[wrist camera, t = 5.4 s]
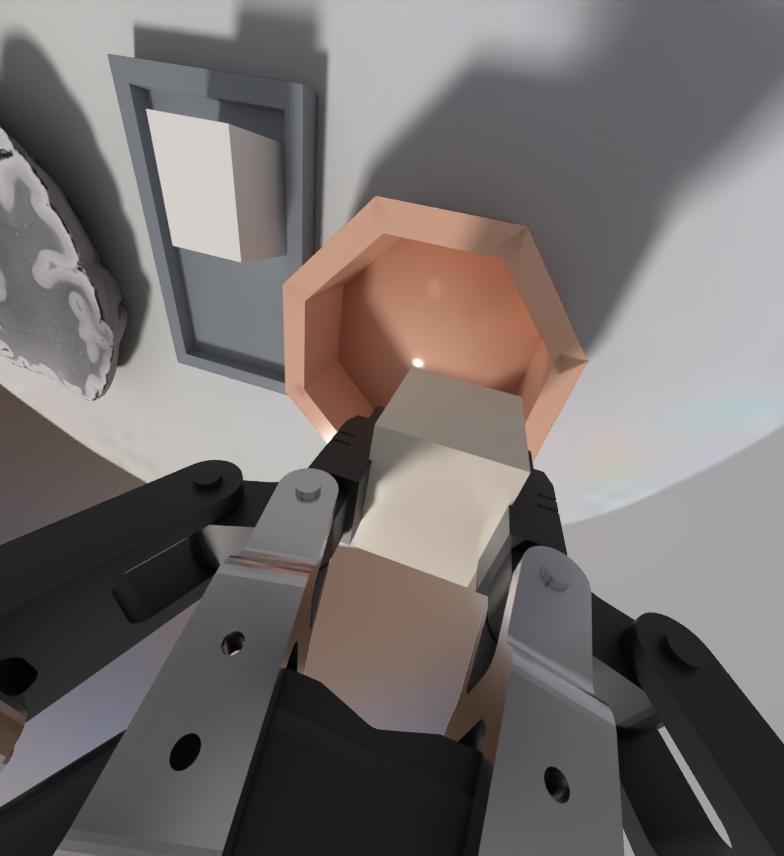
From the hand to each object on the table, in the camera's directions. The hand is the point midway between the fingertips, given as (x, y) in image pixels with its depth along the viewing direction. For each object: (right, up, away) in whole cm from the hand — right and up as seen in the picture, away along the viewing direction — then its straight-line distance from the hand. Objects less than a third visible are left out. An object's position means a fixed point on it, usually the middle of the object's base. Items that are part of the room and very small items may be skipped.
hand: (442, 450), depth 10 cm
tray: (-10, +10, +8) cm, 16 cm away
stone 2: (0, 0, +1) cm, 1 cm away
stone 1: (-8, +12, +5) cm, 15 cm away
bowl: (+1, +5, +7) cm, 9 cm away
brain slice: (-26, +13, +11) cm, 31 cm away
